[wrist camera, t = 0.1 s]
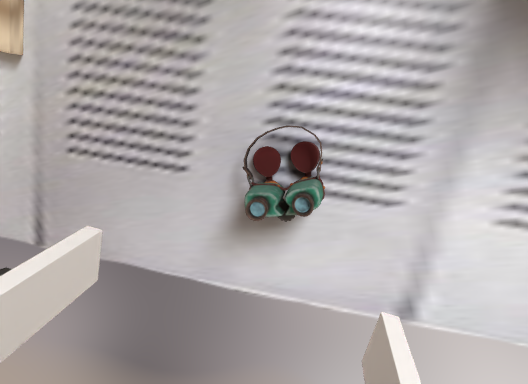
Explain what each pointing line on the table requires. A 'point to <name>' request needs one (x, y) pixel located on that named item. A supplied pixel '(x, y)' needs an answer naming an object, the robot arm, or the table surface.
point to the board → (11, 26)
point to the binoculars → (271, 193)
